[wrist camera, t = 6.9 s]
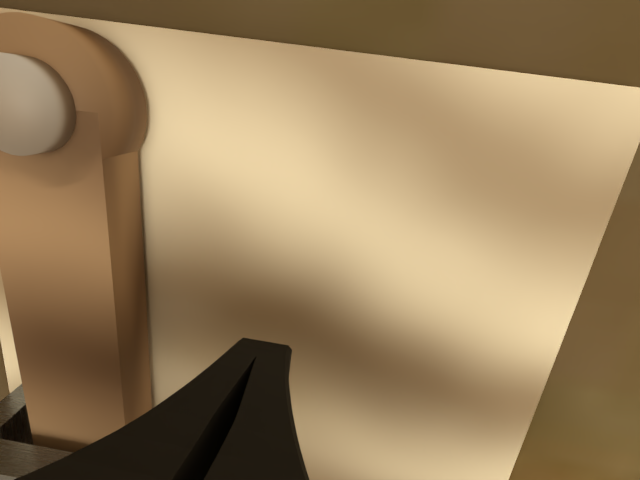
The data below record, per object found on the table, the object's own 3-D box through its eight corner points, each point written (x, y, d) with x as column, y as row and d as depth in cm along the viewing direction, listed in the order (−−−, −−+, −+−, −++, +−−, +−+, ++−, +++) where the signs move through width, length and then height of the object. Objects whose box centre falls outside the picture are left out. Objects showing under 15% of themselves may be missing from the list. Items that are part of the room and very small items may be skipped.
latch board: (471, 528, 15) (478, 556, 14) (42, 446, 16) (22, 467, 15) (631, 91, 10) (659, 89, 9) (-22, 9, 11) (-59, 0, 10)
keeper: (155, 483, 15) (103, 578, 12) (33, 460, 15) (-47, 547, 12) (154, 408, 13) (95, 493, 11) (21, 383, 14) (-71, 460, 11)
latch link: (-2, 18, 10) (-95, -3, 8) (142, 32, 9) (84, 14, 7) (71, 483, 15) (26, 542, 13) (165, 500, 15) (133, 562, 13)
